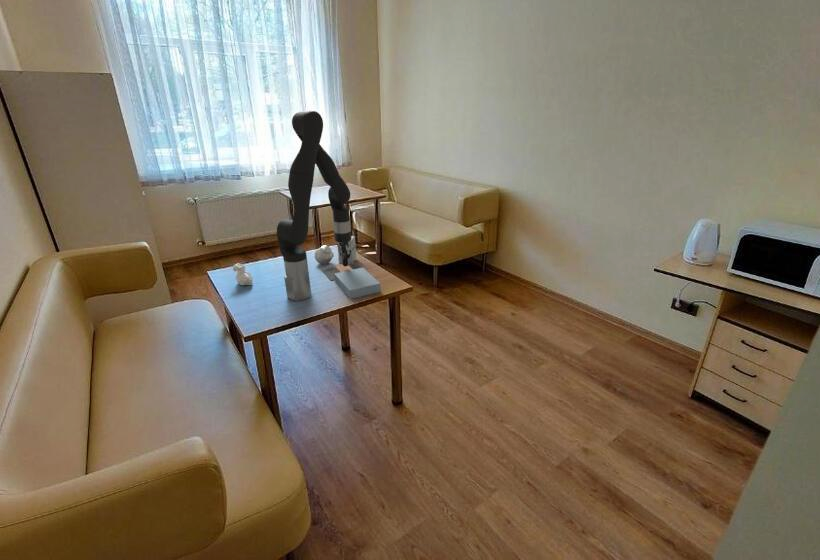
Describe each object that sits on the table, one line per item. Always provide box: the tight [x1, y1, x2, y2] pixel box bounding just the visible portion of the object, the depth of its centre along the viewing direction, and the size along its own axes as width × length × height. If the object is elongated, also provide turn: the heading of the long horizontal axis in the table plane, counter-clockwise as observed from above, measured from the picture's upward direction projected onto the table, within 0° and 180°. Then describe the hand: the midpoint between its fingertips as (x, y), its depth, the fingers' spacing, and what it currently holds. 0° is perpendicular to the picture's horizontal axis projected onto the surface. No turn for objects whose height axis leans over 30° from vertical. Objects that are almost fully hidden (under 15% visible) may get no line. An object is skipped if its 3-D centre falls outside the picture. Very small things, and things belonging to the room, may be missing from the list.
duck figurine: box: [232, 262, 253, 286], centre depth 186 cm, size 12×8×11 cm
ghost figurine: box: [314, 244, 335, 266], centre depth 206 cm, size 9×9×10 cm
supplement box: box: [336, 235, 357, 265], centre depth 209 cm, size 7×7×13 cm
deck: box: [334, 267, 381, 300], centre depth 183 cm, size 20×14×4 cm
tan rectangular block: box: [334, 263, 353, 273], centre depth 196 cm, size 9×6×3 cm, turn 27°
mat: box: [321, 262, 360, 282], centre depth 198 cm, size 14×17×1 cm
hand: (345, 265), depth 193 cm, fingers closed
